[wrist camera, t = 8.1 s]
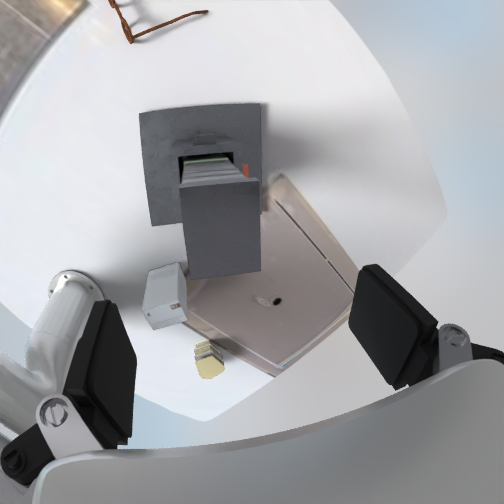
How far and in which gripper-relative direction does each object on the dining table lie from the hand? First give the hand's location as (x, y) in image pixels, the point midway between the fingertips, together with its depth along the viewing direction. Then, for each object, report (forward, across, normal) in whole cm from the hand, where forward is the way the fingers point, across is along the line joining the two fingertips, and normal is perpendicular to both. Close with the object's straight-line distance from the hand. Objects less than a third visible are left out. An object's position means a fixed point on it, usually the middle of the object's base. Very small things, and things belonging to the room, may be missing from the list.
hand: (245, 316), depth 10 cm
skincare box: (+36, +8, +19) cm, 42 cm away
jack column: (+29, 0, 0) cm, 29 cm away
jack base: (+36, 0, 0) cm, 36 cm away
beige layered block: (+37, +3, +40) cm, 54 cm away
